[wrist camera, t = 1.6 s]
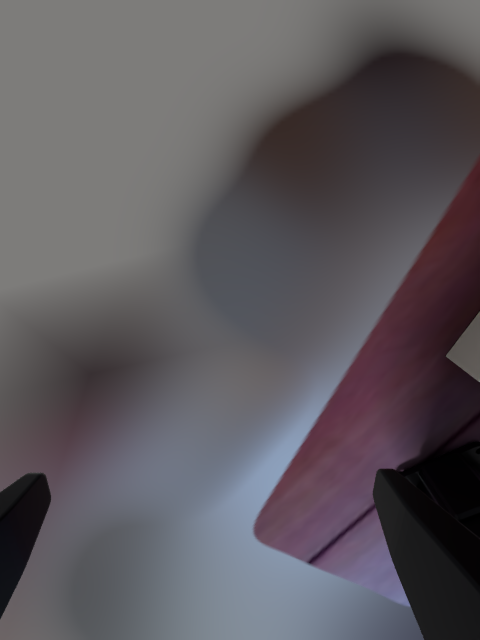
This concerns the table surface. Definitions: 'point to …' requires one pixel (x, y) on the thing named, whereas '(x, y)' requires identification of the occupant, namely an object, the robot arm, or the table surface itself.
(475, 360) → the switch box
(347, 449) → the table surface
